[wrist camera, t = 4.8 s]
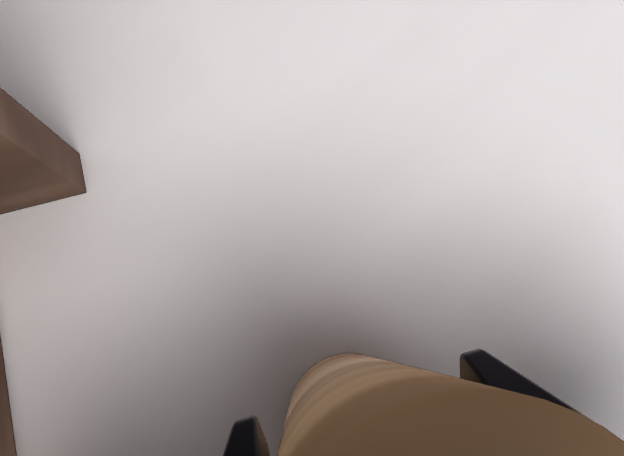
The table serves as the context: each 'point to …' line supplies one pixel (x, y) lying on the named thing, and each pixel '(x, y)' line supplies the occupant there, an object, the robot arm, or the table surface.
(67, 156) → the socket stand
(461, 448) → the peg
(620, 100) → the table surface
